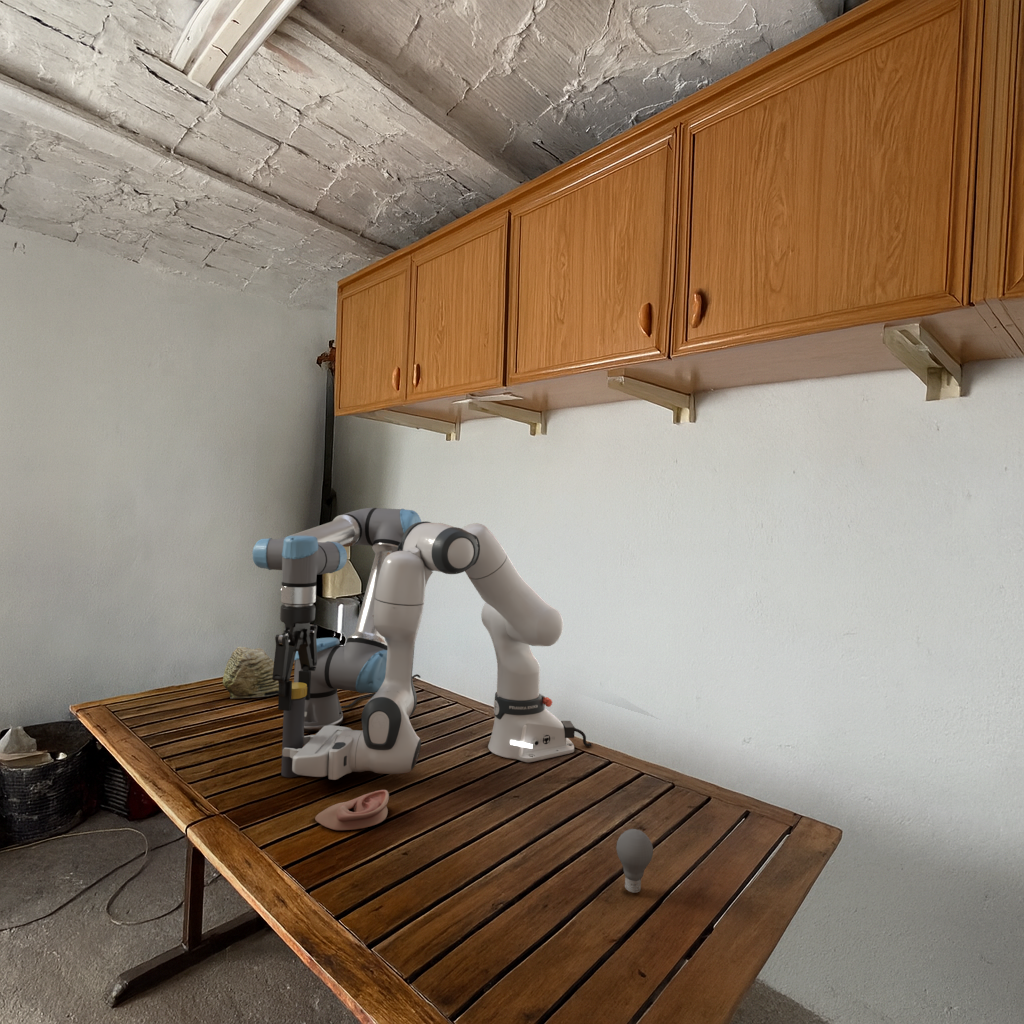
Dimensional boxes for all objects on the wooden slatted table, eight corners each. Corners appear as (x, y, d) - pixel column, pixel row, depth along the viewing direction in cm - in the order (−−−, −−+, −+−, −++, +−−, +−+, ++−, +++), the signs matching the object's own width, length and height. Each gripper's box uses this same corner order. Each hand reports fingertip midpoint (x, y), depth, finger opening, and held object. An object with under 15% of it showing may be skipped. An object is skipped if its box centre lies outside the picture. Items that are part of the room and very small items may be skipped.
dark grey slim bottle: (278, 777, 142) (282, 690, 141) (284, 769, 146) (287, 684, 146) (299, 777, 142) (302, 691, 142) (304, 769, 147) (307, 685, 146)
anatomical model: (307, 805, 121) (336, 780, 133) (306, 826, 121) (335, 798, 133) (372, 815, 119) (395, 788, 130) (371, 836, 119) (394, 807, 130)
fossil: (218, 695, 195) (220, 647, 195) (278, 685, 208) (279, 640, 207) (228, 703, 189) (230, 653, 188) (289, 692, 201) (290, 645, 201)
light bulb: (610, 879, 108) (613, 822, 108) (644, 879, 109) (647, 822, 109) (619, 902, 102) (622, 840, 102) (655, 901, 103) (658, 840, 103)
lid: (303, 699, 141) (303, 689, 141) (279, 698, 141) (279, 688, 141) (309, 692, 147) (310, 682, 147) (286, 691, 146) (286, 681, 146)
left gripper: (306, 596, 154) (303, 689, 155) (256, 609, 134) (252, 716, 135) (335, 598, 153) (331, 693, 153) (288, 612, 133) (284, 720, 133)
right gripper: (362, 720, 154) (307, 716, 154) (334, 754, 133) (270, 749, 134) (361, 746, 154) (306, 742, 155) (332, 783, 133) (268, 779, 134)
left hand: (294, 704), depth 144 cm, fingers open, 7 cm apart
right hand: (288, 746), depth 144 cm, fingers closed on dark grey slim bottle, 4 cm apart
